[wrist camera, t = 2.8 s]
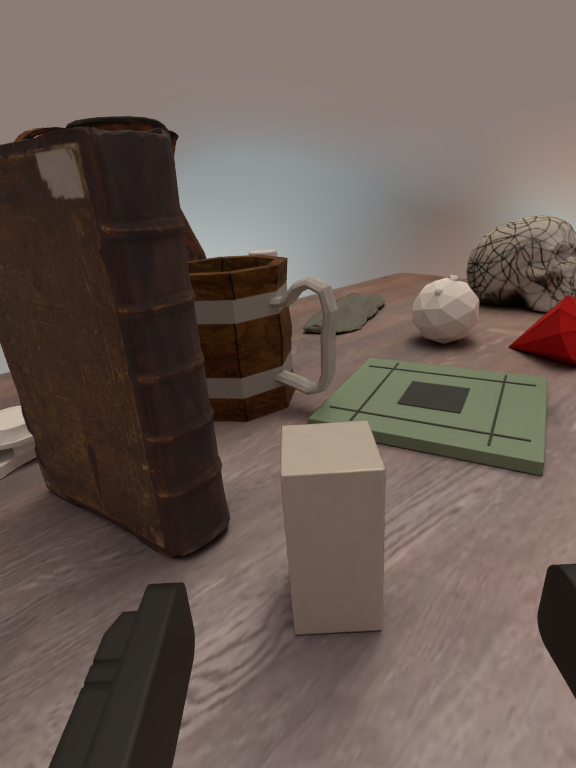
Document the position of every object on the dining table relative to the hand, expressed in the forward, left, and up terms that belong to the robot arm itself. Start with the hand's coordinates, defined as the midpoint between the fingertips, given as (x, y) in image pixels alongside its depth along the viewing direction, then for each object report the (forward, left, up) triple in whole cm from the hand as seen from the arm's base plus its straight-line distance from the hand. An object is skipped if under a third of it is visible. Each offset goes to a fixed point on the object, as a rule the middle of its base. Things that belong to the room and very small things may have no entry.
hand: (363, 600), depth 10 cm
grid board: (+5, -36, -13) cm, 39 cm away
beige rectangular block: (+5, -10, -13) cm, 17 cm away
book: (+22, -11, -13) cm, 28 cm away
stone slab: (+27, -67, -13) cm, 73 cm away
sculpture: (0, -83, -13) cm, 84 cm away
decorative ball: (+7, -58, -13) cm, 60 cm away
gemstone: (-5, -55, -13) cm, 57 cm away
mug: (+23, -31, -13) cm, 41 cm away
